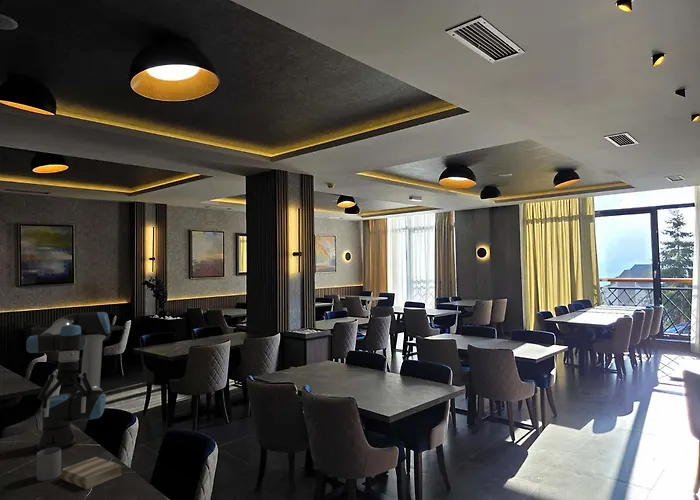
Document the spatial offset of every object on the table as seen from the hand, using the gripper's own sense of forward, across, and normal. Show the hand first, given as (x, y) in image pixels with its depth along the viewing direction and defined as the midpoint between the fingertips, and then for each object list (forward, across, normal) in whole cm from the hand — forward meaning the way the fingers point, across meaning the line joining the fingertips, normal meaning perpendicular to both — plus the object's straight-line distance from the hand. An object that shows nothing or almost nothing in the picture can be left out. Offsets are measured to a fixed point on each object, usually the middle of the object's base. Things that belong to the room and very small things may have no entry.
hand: (65, 415), depth 189 cm
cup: (+23, -1, +11) cm, 26 cm away
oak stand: (+25, +10, -5) cm, 27 cm away
